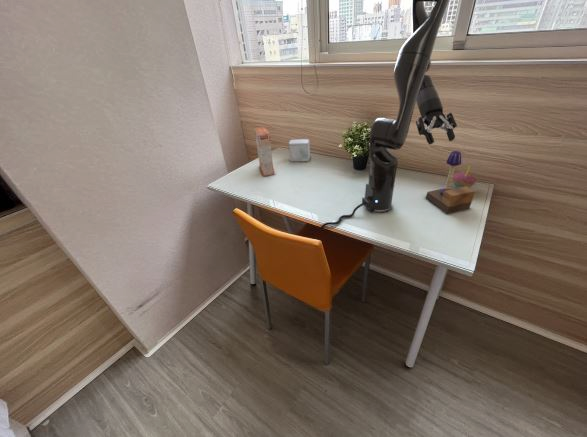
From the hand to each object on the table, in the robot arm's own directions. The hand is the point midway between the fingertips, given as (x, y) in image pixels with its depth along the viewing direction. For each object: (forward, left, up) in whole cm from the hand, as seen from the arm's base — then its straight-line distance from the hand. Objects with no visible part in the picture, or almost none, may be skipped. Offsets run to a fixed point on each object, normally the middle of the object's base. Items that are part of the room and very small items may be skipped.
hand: (442, 141), depth 100 cm
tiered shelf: (0, -10, -21) cm, 23 cm away
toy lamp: (0, -8, -18) cm, 20 cm away
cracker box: (-61, +49, -21) cm, 81 cm away
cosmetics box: (-41, +56, -21) cm, 72 cm away
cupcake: (+12, -3, -21) cm, 24 cm away
